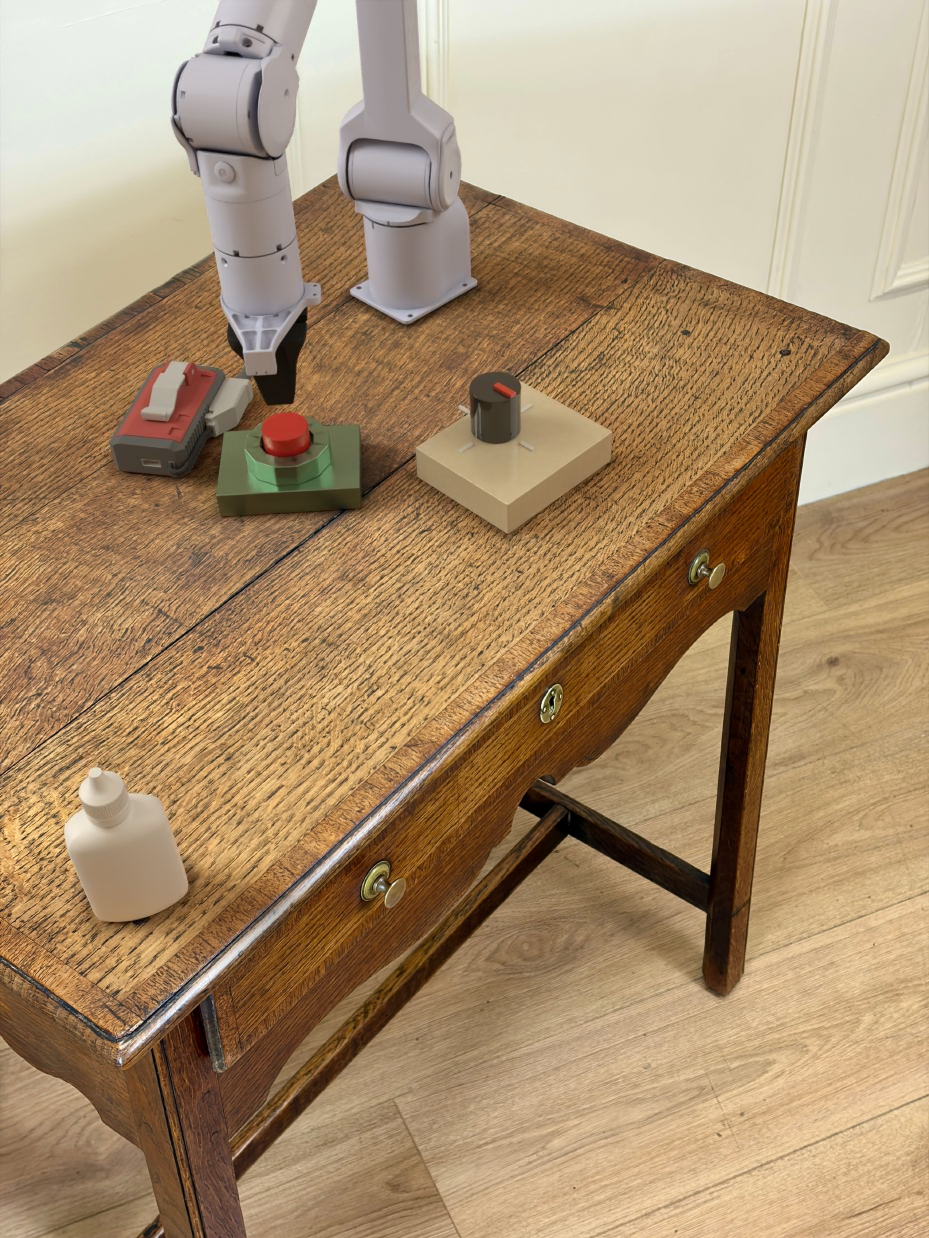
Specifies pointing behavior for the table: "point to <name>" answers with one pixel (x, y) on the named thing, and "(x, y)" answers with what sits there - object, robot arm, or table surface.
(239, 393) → the walkie-talkie
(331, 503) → the housing
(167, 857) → the eye dropper bottle
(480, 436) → the dial
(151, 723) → the table surface
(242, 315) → the robot arm
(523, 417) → the panel
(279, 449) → the button
